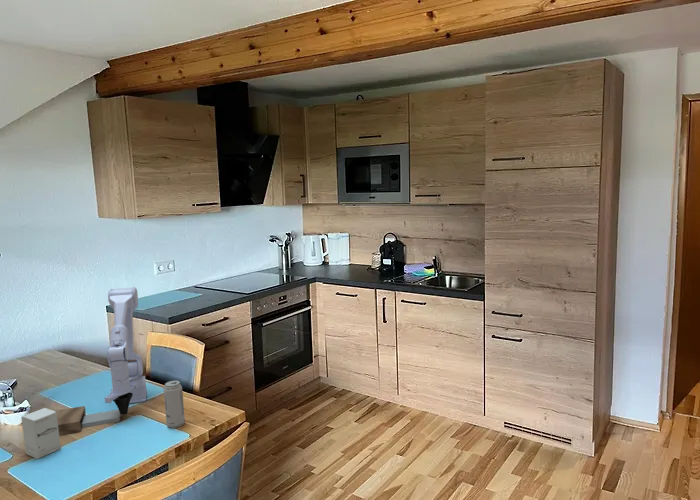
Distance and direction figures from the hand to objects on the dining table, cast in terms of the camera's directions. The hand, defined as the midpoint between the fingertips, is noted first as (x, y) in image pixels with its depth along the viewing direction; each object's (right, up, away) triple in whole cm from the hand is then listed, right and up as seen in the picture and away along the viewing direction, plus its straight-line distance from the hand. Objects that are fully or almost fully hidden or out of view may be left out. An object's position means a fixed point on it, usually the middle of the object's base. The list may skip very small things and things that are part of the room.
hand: (124, 413), depth 186 cm
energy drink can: (+22, -1, -8) cm, 23 cm away
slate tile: (-7, -2, -2) cm, 7 cm away
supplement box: (-15, -5, -23) cm, 28 cm away
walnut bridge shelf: (-16, -2, -6) cm, 17 cm away
